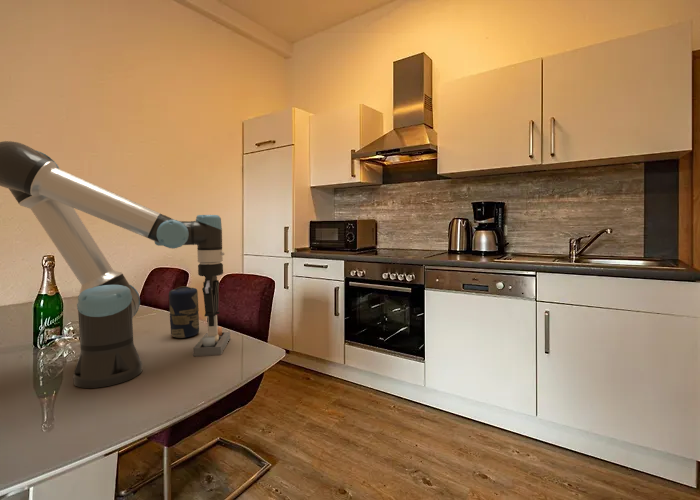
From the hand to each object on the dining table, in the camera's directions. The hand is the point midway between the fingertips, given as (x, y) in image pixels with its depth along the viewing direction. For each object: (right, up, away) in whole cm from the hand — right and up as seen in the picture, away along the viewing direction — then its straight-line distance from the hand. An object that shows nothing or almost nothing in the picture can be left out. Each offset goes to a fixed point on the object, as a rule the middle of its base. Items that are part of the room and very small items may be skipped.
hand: (212, 334), depth 120 cm
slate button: (+1, -2, -5) cm, 6 cm away
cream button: (0, -3, 0) cm, 3 cm away
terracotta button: (-1, -1, +6) cm, 6 cm away
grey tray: (0, -4, 0) cm, 4 cm away
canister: (-15, -4, +13) cm, 20 cm away
